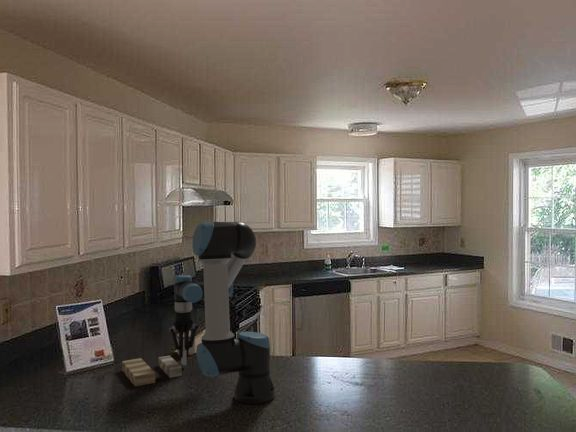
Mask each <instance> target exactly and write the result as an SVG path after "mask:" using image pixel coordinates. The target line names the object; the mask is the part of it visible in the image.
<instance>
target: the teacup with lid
mask: <svg viewBox="0 0 576 432" xmlns="http://www.w3.org/2000/svg"><path fill="white" fill-rule="evenodd" d="M190 335H191V330H189V339H190ZM196 336H197V335H196V334H195V338H194V343H193V347H191V348H189V350H188V354H189V355H188V356H191V355H194V354H196ZM176 338H177V342H178V346H179V334H178V333H177V334H176ZM183 349H185V348H184V332H183ZM176 354H177V355H178V356H179V350H177V349H176Z"/></svg>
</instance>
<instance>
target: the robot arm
mask: <svg viewBox="0 0 576 432" xmlns="http://www.w3.org/2000/svg"><path fill="white" fill-rule="evenodd" d="M256 246H257V238H256V235H255V232H254V230H253V229H252V228H251V227H250V226H249V225H248V224H247V223H243V222H241V221H207V222H201V223H199V224H198V225H197V226H196V227H195V230H194V233H193V237H192V251H193V254H194V255H195V256H197V257H198V262H200V263H201V264H202V266H203V269H202V270H203V281H202V282H193V277H192V276H191V275H189V274H181V275H176V276H174V283H173V285H174V323H173V326H171V327H169V328H168V331H169V332H170V335H171V338H172V343H173V347H174V349H176V351H177V350H179V355H178V357H179V358H181V359H180V361H181V362H180V364H181V365H182V366H187V364H188V363H187V359H188V358H187V357H189V356H190V355H189V354H188V350H189V348H191V347H193V343H194V338H195V339H196V336H195V335H196V333H197V330H198V328H199V325H198V324H195V323H194V321H193V311H192V310H193V304H195V303H197V302H199V301H204V319H205V321H204V323H205V333H204V334H203V335H202V336H201V343H198V344H197V345H196V348H195V354H196V360H197V364H198V367H199V369H200V371H201V373H202V374H203V375H204V376H205V377H208V378H210V377H220V376H222V375H229V374H234V373H238V375H237V376H238V377H237V379H236V382H235V383H236V384H235V386H234V390H233V399H234V400H235V401H236V402H238V403H240V404H246V405H260V404H265V403H267V402H271V401H273V399H275V396H276V393H275V392H276V388H275V385H274V383H273V380H272V376H271V343H270V338H269V336H268V335H266V334H265V333H262V332H256V331H241V332H239V333H238V334H237V338H235V334H234V333H233V332H232V331H231V323H230V321H231V320H230V297H231V296H233V293H234V284H233V283H234V281H235V279H236V277H237V276H238V275H239V272H240V271H241V269H242V268H243V265H244V264H245V262H246V260H248V259H250V258H251V257H252V256H253V254H254V252H255V250H256ZM176 330H177V334H179V346H178V342H177V338H176V337H177V334H176ZM189 331H191V335H190V339H189ZM183 332H184V348H185V349H183Z"/></svg>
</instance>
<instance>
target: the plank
mask: <svg viewBox="0 0 576 432" xmlns="http://www.w3.org/2000/svg"><path fill="white" fill-rule="evenodd" d="M158 367H159V368H160V369H161V370H162V371H163V372H164V373H165V374H166V375H167V377H169V378H170V379H171V378H176V377H182V376H183V375H182V373H183V369H182V366H181V365H180V364H179V363H178V361H176V360H175V359H174V358H173V357H172V356H171V355H165V356H159V357H158Z"/></svg>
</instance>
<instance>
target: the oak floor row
mask: <svg viewBox="0 0 576 432" xmlns="http://www.w3.org/2000/svg"><path fill="white" fill-rule="evenodd" d="M121 365H122V366H121V367H122V368H121V371H122V372H123V373H124V375H125V376H126V377H127V379H128V380H129V381H130V383H131V384H133V386H134V387H139V386H140V387H141V386H146V385H149V384H155V383H156V379H157V378H158V375H157V374H156V372H155V371H154V369H152V368H151V367H150V365H148V364H147V362H145V360H144V359H142V358H141V357H139V358H134V359H133V358H132V359H128V360H122V362H121Z"/></svg>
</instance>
